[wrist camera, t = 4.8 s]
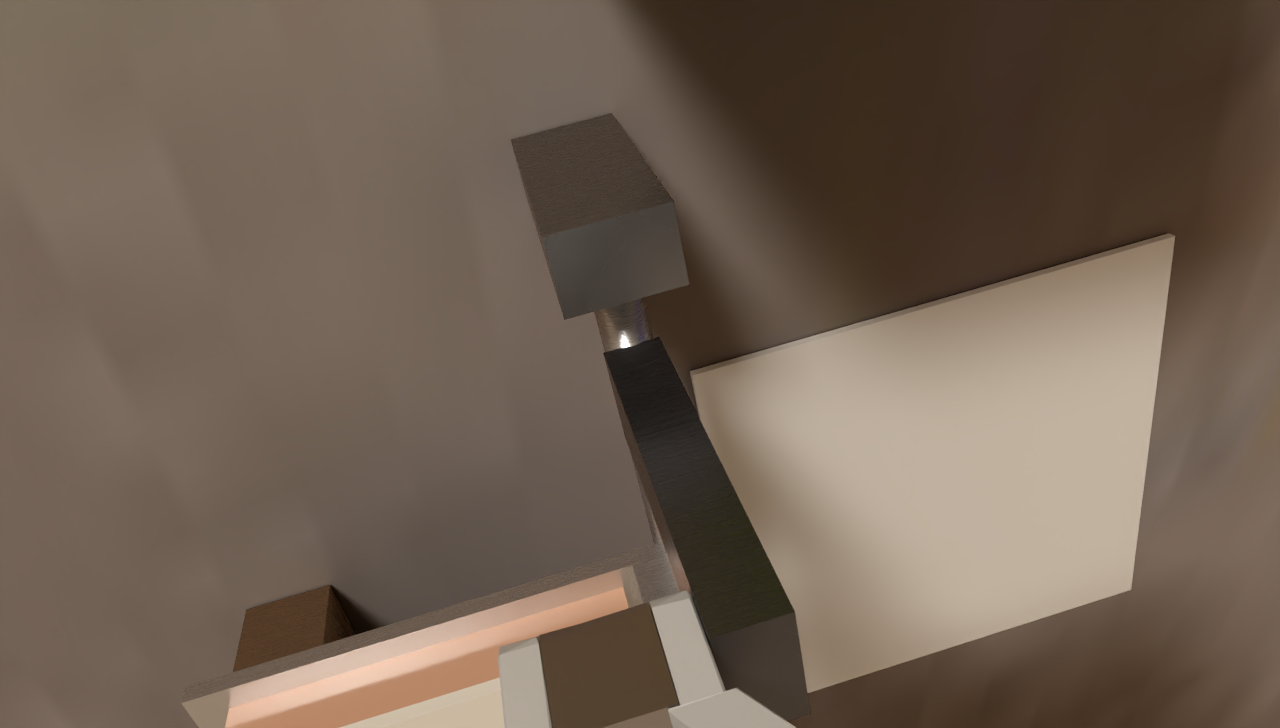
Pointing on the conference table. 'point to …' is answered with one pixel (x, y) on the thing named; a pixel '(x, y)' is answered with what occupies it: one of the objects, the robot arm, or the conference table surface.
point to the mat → (950, 458)
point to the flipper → (677, 561)
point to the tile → (419, 681)
